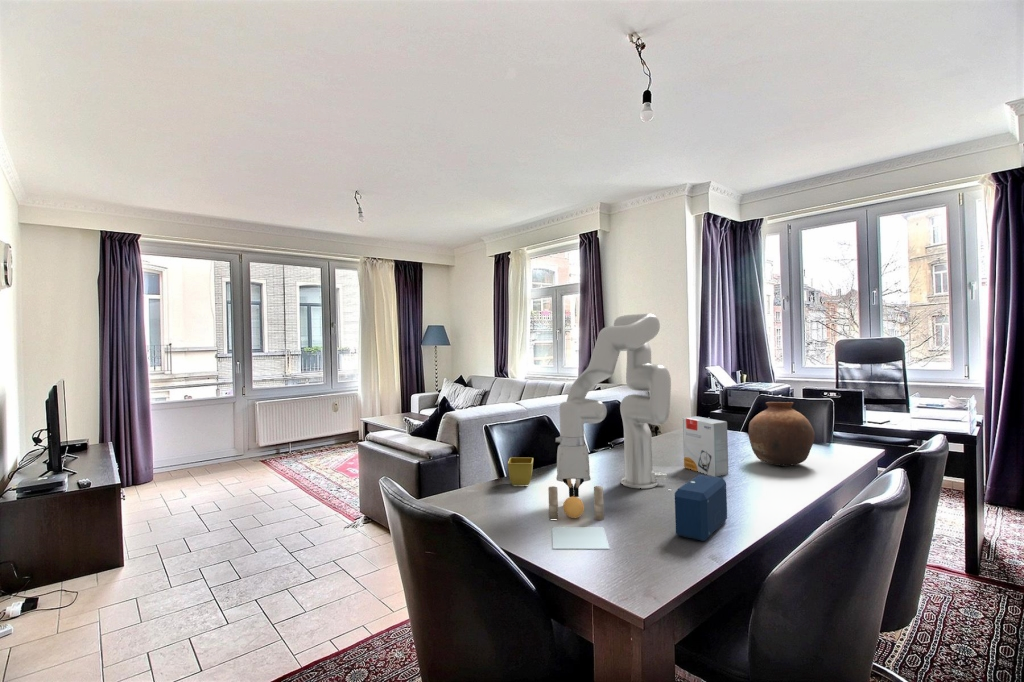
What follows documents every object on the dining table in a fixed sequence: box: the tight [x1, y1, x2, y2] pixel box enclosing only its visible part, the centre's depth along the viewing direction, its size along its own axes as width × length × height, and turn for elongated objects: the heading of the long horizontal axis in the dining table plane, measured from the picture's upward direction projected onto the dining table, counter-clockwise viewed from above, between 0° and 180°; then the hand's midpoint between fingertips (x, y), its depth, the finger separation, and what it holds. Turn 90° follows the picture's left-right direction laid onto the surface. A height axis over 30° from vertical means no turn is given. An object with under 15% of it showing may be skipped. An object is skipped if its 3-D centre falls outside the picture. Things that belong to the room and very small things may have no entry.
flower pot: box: [507, 457, 534, 486], centre depth 178 cm, size 9×9×9 cm
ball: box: [562, 496, 585, 519], centre depth 144 cm, size 6×6×6 cm
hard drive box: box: [682, 415, 729, 477], centre depth 189 cm, size 16×8×20 cm, turn 25°
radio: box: [674, 451, 728, 542], centre depth 133 cm, size 21×9×20 cm, turn 141°
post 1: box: [547, 485, 559, 520], centre depth 143 cm, size 3×3×9 cm
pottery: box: [748, 401, 816, 467], centre depth 195 cm, size 23×23×25 cm
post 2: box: [593, 485, 605, 521], centre depth 142 cm, size 3×3×9 cm
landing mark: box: [551, 526, 611, 550], centre depth 129 cm, size 14×14×1 cm
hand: (574, 499), depth 156 cm, fingers closed
